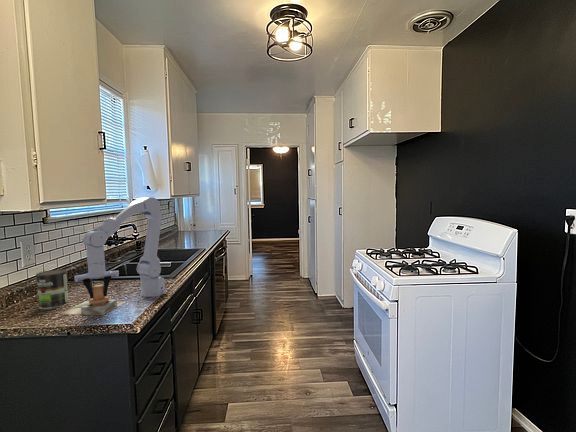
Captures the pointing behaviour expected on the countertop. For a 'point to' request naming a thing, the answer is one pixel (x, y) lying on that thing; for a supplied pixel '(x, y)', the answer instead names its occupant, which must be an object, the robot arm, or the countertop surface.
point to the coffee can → (52, 288)
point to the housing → (93, 308)
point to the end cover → (98, 296)
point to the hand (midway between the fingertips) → (98, 296)
